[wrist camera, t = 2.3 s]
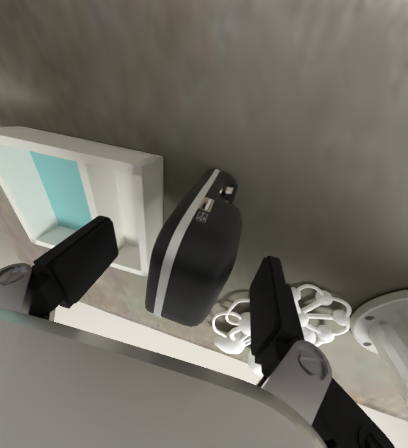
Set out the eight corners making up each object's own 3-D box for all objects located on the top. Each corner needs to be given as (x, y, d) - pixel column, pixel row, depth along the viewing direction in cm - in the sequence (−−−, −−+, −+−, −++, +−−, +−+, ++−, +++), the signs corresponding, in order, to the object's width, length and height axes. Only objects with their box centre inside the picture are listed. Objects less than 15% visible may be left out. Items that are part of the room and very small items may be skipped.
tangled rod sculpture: (287, 251, 20) (292, 275, 17) (376, 319, 21) (399, 356, 18) (201, 314, 31) (193, 337, 27) (264, 359, 31) (264, 387, 28)
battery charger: (224, 235, 19) (200, 346, 10) (193, 223, 20) (140, 323, 10) (249, 177, 16) (247, 271, 6) (209, 163, 16) (148, 235, 6)
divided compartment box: (163, 156, 16) (141, 166, 13) (162, 254, 24) (147, 277, 20) (21, 126, 18) (-31, 128, 15) (60, 226, 25) (32, 242, 22)
